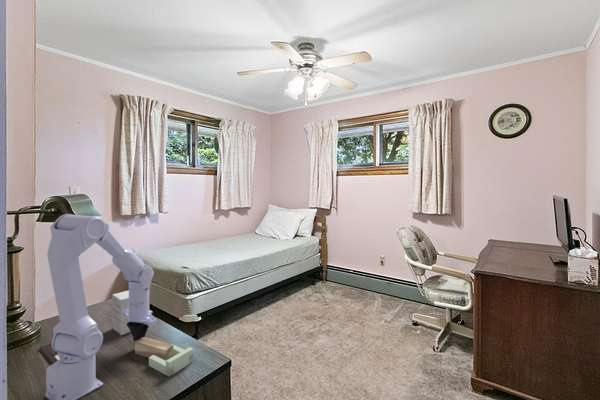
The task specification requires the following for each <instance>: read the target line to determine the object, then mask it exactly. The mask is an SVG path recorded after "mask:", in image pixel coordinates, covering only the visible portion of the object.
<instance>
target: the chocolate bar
mask: <svg viewBox="0 0 600 400" xmlns="http://www.w3.org/2000/svg"><path fill="white" fill-rule="evenodd" d="M39 350H40V352H41V353H42V354H43V355H44V356H45V358H46V359H47V360H48V361H49V362H50V364H51V365H52V364H54V363H55V362H57V361H58V360H59V359H60V358H59V357H58V352H56V351H54V350H53V348H52V343H49V344H46V345H43V346H40V347H39ZM96 358H97V354H96Z"/></svg>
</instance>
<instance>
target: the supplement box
mask: <svg viewBox="0 0 600 400" xmlns="http://www.w3.org/2000/svg"><path fill="white" fill-rule="evenodd" d="M126 309H129V289H128V290H124V291H121V292H117V293H113V294H112V329H113V331H116V333H118V334H119V335H120V336H123V335H126V334H129V333H131V331H130V329H129V328H128V326H127V323H128V322H131V321H129V320H128V319H127V317H123V310H126Z"/></svg>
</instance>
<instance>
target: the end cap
mask: <svg viewBox="0 0 600 400" xmlns="http://www.w3.org/2000/svg"><path fill="white" fill-rule="evenodd" d="M172 345H173V357H172V358H170V359H168V360H166V361H165V360H163V359H161V358H159V357H157V356H155V355H152V356H150V357H148V367H150V368H153V369H154V370H156V371H158V372H159V373H161V374H164V375H165V376H166V377H171V376H173V375H174V374H176V373H177V372H179V371H181V370H182V369H185V367H187V366H189V365H190V364H192V363H193V362H194V348H193V347H187V348H186V349H184V348H182V347H179V346H177V345H175V344H172Z"/></svg>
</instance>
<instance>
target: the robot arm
mask: <svg viewBox="0 0 600 400" xmlns="http://www.w3.org/2000/svg"><path fill="white" fill-rule="evenodd" d="M49 228H50V234H51V239H50V242H49V246H48V249H47V253H46V255H47V261H48V266H49V270H50V271H49V272H50V277H51V281H52V282H51V283H52V286H53V291H54V297H55V303H56V306H57V307H56V308H57V313H58V317H59V322H58V323H57V324H56V325H55V326H54V327H53V328H52V330H53V337H52V340H51V344H52V348H53V350H54V351H56V352H58V357H59V358H60V359H59V360H58V361H57V362H55V363H54V364H52V363H51V365H49V366H47V368H46V370H45V386H46V387H45V389H46V390H45V391H46V392H45V394H44V395H45V397H46V398H47V399H48V400H79V399H80V398H82V397H84V396H85V395H88V394H90V393H91V392H93V391H95V390H96V389H99V388H100V387H102V386H104V382H102V381H101V380H100V379H98V378H97V377H96V374H97V371H96V368H97V367H96V366H97V365H96V361H97V360H96V358H97V357H96V355H97V353H98V351H99V350H100V349H101V346H102V344H103V342H104V335H103V332H102V331H101V330H99V327H98V323H97V322H96V321H95V320H94V319H93V318H92V317H91V316H90V315H89V312H88V305H87V301H86V294H85V287H84V284H83V283H84V282H83V277H82V271H81V264H80V259H79V257H80V256H81V255H82V254H83V253H84V252H85V251H87V250H88V249H89V248H91V247H92V246H93V245H95V244H97V245H98V246H100V247H101V249H103V250H104V251H105V252H107V254H109V255H110V256H111V257H112V262H111V263H112V264H113V265H114V266H116V268H118V269H119V270H120V271H121V272H122V273H123V279H124V280H126V281H127V282H128V290H129V309H126V310H123V317H127V319H128V320H129V321H131V322H128V323H127V326H128V328H129V329H130V331H131V332H130V333H131V336H132V340H133V343H134V344H135V341H137V340H138V339H140V338H142V337H146V334H147V331H148V329H152V328H154V327H156V326H157V319H156V318H154V315H152V314H153V310H151V309H150V287H151V285H152V279H153V277H154V275H155V271H154V269H153V267H152V266H151V265H150V264H147V263H145V262H144V260H143V259H142V258H140V257H139V256H138V255H137V254H136V250H135V249H134V248H129V247H123V245H122V244H121V243H120V241H119V240H118V239H117V238H116V237H115V235H114V234H113V233H112V232H111V231H110V226H109V224H108V223H107V222H106V221H105V220H104V219H103V218H102V217H101V216H99V215H79V214H72V213H65V214H63V215H60V216H59V217H58V218H56V220H55V221H54V222H53V223H52V224H51V225H50V227H49Z"/></svg>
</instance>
